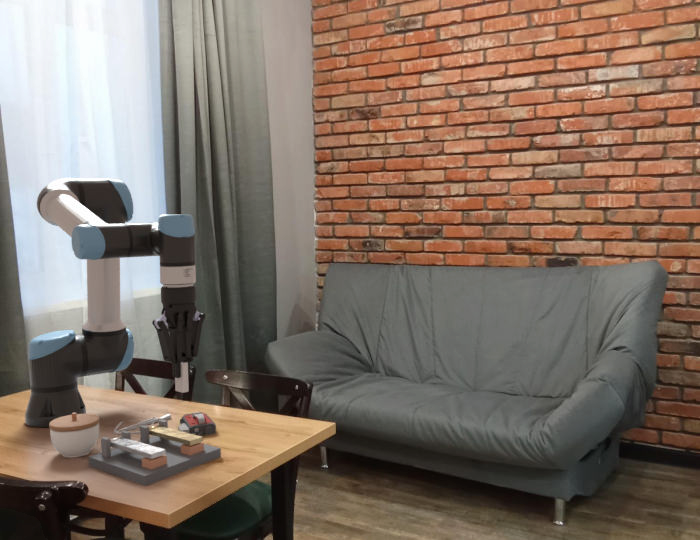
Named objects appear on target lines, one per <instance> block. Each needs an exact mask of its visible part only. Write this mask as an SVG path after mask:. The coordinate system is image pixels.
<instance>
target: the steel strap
mask: <svg viewBox="0 0 700 540" xmlns="http://www.w3.org/2000/svg"><path fill="white" fill-rule="evenodd" d="M137 441H138V440H133V439H132V438H131V439H127V438H124V437H123V436H122V435H120V436H119V437H118V436H117V437H115V438H110V448H113V449H114V448H117V449H120V450H124V451H127V452H130V453H133V454H137V455H140V456H143V457H146V458H150V459H153V458H156V457H159V456H162V455H165V454H166V451H165V449H162V448H158V447H155V446H151V445H148V444H144V443H141V442H137Z"/></svg>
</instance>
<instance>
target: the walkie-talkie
mask: <svg viewBox="0 0 700 540" xmlns="http://www.w3.org/2000/svg"><path fill="white" fill-rule="evenodd" d="M177 430H178V431H182V432H186V433H190V434H194V435H198V436H202V437H203V436H210V435H215V434H216V433H217V425H216V423H215V422H214V421H213V419H211V417H210V416H209V414H207V413H206V412H201V411H195V412H191V413H186V414H184V415H182V416H181V418H180V419H179V425H178V428H177Z"/></svg>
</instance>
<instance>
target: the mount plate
mask: <svg viewBox="0 0 700 540" xmlns="http://www.w3.org/2000/svg"><path fill="white" fill-rule="evenodd" d="M158 425H161V426H162V427H166V428H169V426H168V420H159V422H158ZM149 428H150V427H149V425H146V426H145V425H142V426H140V427H139V431H140V433H139V436H140V437H139V438H140V439H139V440H136V441H137V442H141V443H144V444H148V445H151V446H155V447H158V448H162V449H165V451H166V454H165V455H162V456H159V457H156V458H153V459H150V458H146V457H143V456H140V455H137V454H133V453H130V452H127V451H124V450H120V449H117V448H114V447H113V448H112V447H110V440H111V438H110V437H108V436H103V437H100V449H101V450H100V451H101V452H99V453H95V454H93V455H90V456H89V455H88V467H91V468H94V469H97V470H100V471H103V472H105V473H108V474H111V475H114V476H116V477H119V478H122V479H125V480H127V481H131V482H133V483H135V484H138V485H141V486H144V487H145V486H146V487H147V486H148V485H151V484H154V483H156V482H159V481H162V480H164V479H167V478H169V477H172V476H174V475H177V474H180V473H183V472H185V471H188V470H191V469H194V468H196V467H198V466H201V465H203V464H206V463H209V462H211V461H214V460H216V459H220V458H222V454H221V453H222V450H221V447H217V446H214V445H210V444H208V443H204V441H202V442H199V443H196V444H194V445H191V446H190V445H186V444H182V443H179V442H175V441H171V440H168V439H164V438H160V437H157V436H153V435H151V436H150V435H149ZM131 432H132V431H130V430H128V431H122V434H121V436H123V437H124V438H127V439H131V440H132V434H131ZM111 448H112V449H111Z"/></svg>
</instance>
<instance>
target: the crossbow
mask: <svg viewBox="0 0 700 540" xmlns="http://www.w3.org/2000/svg"><path fill="white" fill-rule="evenodd" d="M171 419H172V414H170V413H167V414H164V415H162V416H161V417H157V416H156V417H155V416H154V417H151V418H148V419H146V418H143V419H141V418H140V422H137V423H134V424H132V425H129V426H126V427H123V428H121V429H120V428H119V427H120V426H121V425H122V424H123V422H124V420H122V421H120V422H119V423H118V424H117V425H116V426H115V428H114V431H113V433H114V434H118V435H122V431H130V432H131V435H132V434H133V435H134V434H140V430H138V431H132V430H135V429H140V426H142V425H145V426H149V425H151V426H153V425H154V423H159V420H165V421H168V420H171ZM142 420H143V421H142ZM130 421H131V422H133V421H135V420H134V419H133V420H131V419H130V420H129V422H130ZM118 428H119V429H118ZM117 429H118V430H117Z"/></svg>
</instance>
